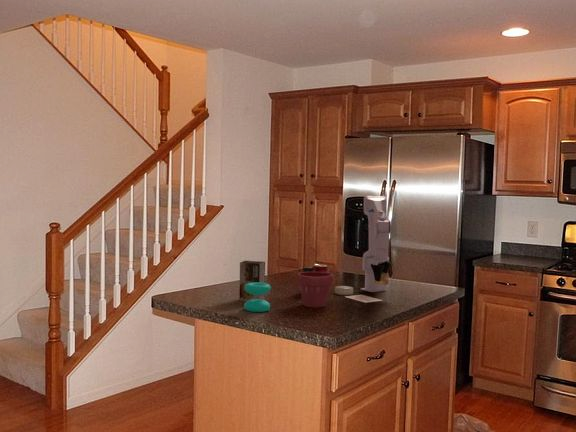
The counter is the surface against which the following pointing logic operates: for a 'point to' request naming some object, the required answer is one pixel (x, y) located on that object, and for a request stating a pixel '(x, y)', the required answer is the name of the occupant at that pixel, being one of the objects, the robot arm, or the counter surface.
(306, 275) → the plant pot
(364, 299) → the letter
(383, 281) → the maple block
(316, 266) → the soda can
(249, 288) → the donuts
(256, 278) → the coffee box
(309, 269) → the supplement bottle
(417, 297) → the counter surface
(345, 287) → the puck
